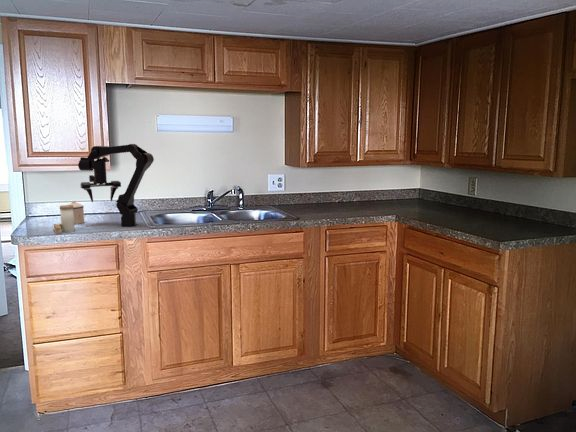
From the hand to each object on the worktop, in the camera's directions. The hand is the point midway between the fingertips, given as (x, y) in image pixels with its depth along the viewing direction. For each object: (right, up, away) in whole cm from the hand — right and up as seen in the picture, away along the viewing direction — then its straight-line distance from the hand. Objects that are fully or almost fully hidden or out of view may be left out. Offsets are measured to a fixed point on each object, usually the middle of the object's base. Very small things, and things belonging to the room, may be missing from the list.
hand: (101, 201), depth 258 cm
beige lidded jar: (-16, -12, +5) cm, 21 cm away
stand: (-11, -15, -16) cm, 24 cm away
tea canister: (-11, -15, -15) cm, 24 cm away
